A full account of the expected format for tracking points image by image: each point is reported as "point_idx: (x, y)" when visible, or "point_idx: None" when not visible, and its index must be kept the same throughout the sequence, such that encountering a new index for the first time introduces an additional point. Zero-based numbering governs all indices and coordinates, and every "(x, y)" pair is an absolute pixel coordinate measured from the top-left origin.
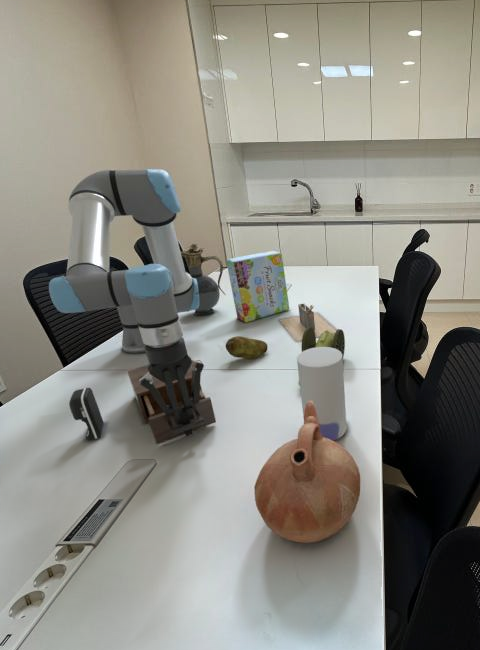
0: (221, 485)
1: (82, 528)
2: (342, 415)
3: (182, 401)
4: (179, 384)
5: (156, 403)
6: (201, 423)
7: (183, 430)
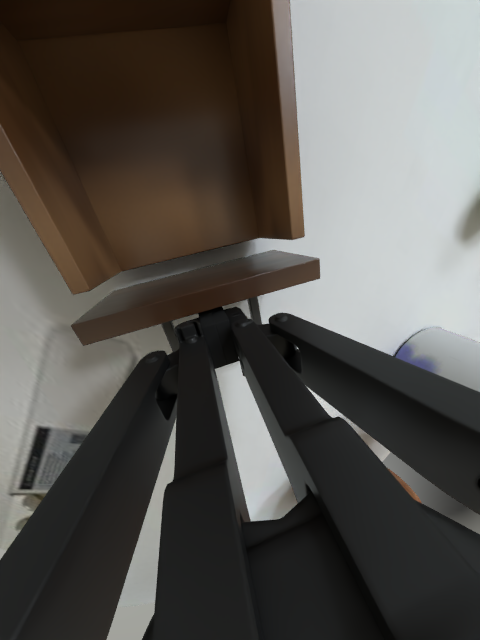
0: (253, 430)
1: (41, 474)
2: None
3: (173, 36)
4: (286, 467)
5: (29, 4)
6: None
7: None
